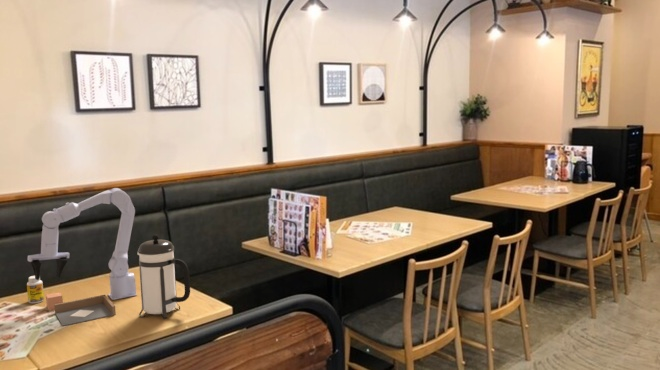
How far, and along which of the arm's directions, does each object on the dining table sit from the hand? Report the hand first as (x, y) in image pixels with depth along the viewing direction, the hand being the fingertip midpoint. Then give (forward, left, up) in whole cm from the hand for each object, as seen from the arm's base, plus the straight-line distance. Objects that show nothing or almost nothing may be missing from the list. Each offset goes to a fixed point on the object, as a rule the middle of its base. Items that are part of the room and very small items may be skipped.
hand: (47, 278), depth 208 cm
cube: (-2, 0, -12) cm, 12 cm away
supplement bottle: (+3, -12, -12) cm, 18 cm away
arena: (-10, +15, -12) cm, 21 cm away
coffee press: (-34, +32, -12) cm, 48 cm away
